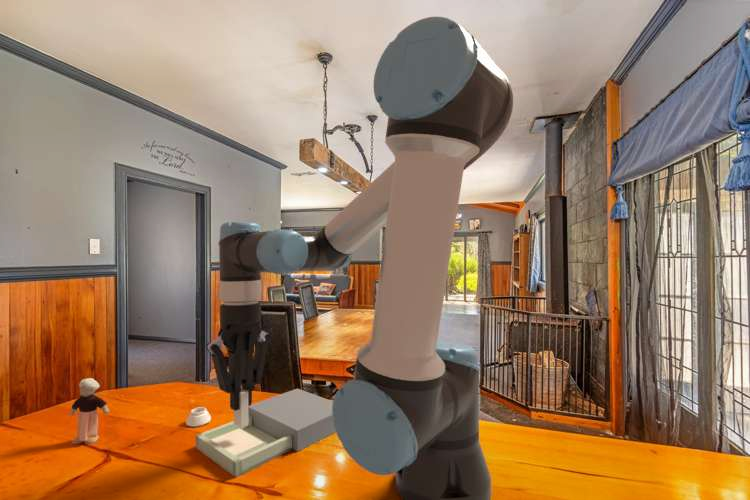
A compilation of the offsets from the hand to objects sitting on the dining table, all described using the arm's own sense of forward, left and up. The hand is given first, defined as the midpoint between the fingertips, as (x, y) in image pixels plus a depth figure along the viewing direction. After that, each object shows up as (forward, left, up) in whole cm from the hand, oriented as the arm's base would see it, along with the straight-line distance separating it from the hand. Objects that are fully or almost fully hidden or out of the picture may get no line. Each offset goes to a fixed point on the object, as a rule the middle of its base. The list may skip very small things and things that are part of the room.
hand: (241, 424), depth 72 cm
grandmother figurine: (+28, +18, -5) cm, 33 cm away
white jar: (+18, 0, -5) cm, 19 cm away
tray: (0, 0, -5) cm, 5 cm away
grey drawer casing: (0, -14, -5) cm, 14 cm away
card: (0, +1, -3) cm, 3 cm away
